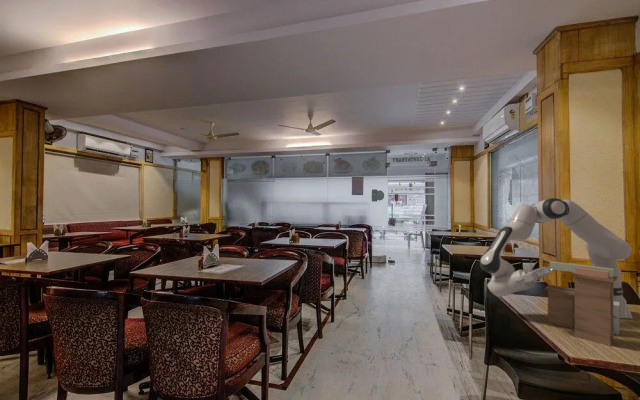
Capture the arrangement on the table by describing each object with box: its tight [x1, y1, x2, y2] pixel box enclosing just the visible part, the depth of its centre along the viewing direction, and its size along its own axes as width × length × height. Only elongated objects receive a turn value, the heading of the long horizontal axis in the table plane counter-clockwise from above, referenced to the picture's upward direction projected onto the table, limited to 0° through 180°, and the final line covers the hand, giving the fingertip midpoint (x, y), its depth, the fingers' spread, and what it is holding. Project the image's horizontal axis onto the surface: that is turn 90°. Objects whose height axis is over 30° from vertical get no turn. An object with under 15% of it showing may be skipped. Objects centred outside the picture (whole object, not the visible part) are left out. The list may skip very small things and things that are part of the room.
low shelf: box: [544, 284, 575, 329], centre depth 147 cm, size 9×11×16 cm
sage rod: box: [549, 261, 615, 277], centre depth 135 cm, size 3×21×3 cm, turn 39°
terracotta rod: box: [576, 267, 609, 278], centre depth 129 cm, size 2×10×2 cm, turn 39°
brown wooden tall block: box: [570, 272, 617, 347], centre depth 130 cm, size 9×13×26 cm
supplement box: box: [614, 301, 621, 336], centre depth 139 cm, size 7×7×13 cm
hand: (552, 268), depth 142 cm, fingers open, 8 cm apart
